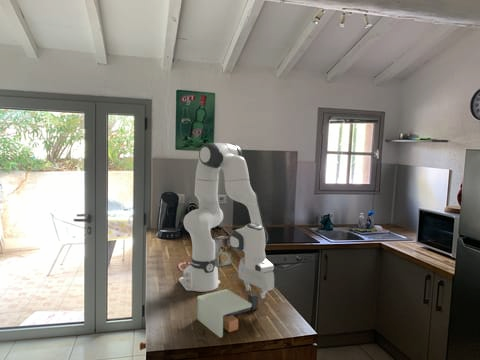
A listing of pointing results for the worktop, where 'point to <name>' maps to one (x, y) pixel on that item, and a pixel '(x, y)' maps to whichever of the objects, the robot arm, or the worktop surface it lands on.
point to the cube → (230, 323)
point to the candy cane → (182, 264)
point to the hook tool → (254, 301)
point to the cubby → (218, 308)
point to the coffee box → (222, 250)
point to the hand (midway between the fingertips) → (255, 294)
